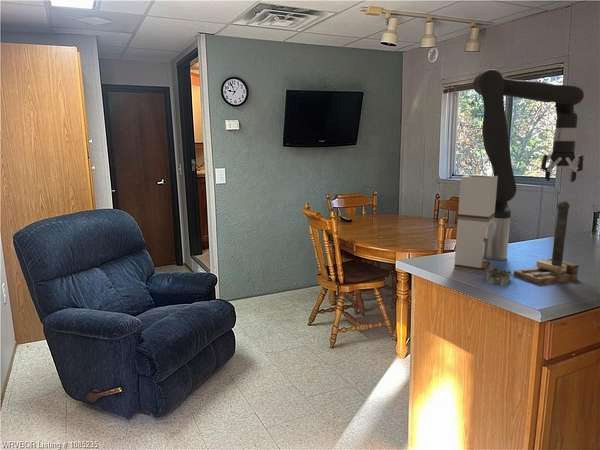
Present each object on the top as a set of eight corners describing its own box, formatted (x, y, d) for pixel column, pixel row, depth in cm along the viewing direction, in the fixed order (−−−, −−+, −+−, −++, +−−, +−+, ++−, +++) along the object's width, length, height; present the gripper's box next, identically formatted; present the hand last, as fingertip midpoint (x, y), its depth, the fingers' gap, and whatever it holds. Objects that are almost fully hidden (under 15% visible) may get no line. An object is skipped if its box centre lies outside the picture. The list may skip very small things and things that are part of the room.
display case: (483, 273, 164) (492, 177, 158) (454, 269, 170) (460, 176, 163) (489, 266, 173) (497, 175, 167) (461, 262, 179) (468, 174, 173)
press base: (539, 284, 152) (540, 270, 151) (513, 275, 162) (514, 262, 161) (578, 279, 158) (580, 265, 157) (551, 270, 168) (552, 257, 167)
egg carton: (507, 287, 150) (508, 275, 150) (483, 283, 154) (484, 271, 154) (512, 278, 159) (513, 267, 159) (489, 275, 163) (490, 264, 162)
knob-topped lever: (555, 272, 156) (563, 202, 151) (536, 266, 163) (543, 199, 159) (566, 270, 157) (574, 201, 153) (546, 265, 165) (553, 198, 160)
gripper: (546, 139, 175) (542, 181, 178) (588, 140, 170) (583, 182, 173) (542, 139, 182) (538, 180, 185) (582, 140, 177) (577, 181, 180)
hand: (559, 181), depth 179 cm, fingers open, 8 cm apart
